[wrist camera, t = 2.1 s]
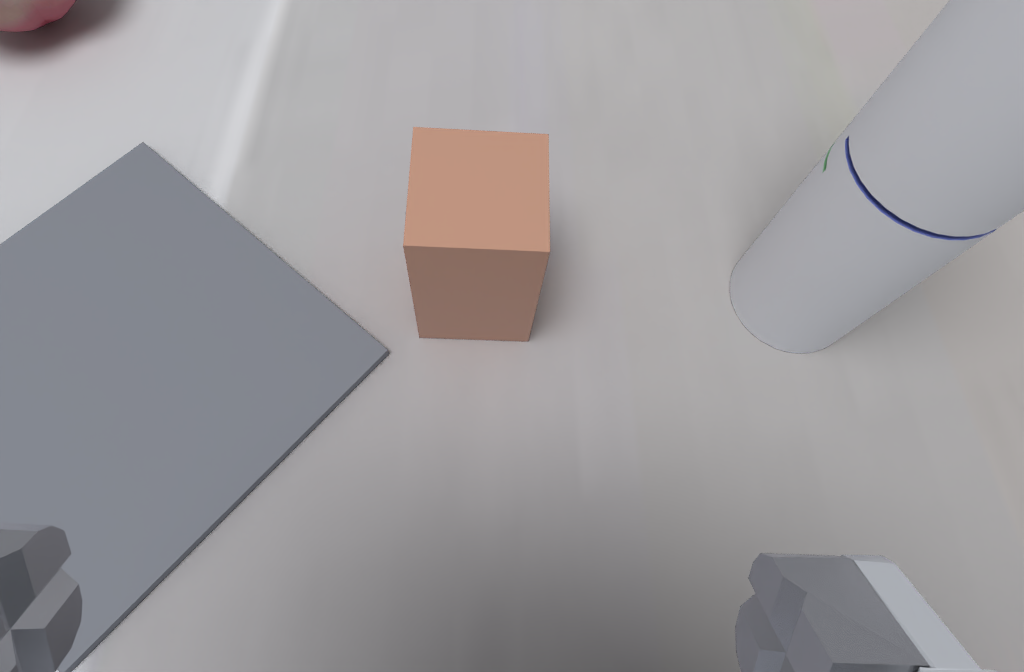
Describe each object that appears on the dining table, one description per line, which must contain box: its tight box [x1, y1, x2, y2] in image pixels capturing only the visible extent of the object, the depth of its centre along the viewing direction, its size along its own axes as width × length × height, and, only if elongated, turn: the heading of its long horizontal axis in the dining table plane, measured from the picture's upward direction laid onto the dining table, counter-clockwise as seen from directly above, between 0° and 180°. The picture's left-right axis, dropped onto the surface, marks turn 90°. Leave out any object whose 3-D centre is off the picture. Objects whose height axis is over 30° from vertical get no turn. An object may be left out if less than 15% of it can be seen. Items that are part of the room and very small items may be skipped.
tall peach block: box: [403, 127, 550, 341], centre depth 32 cm, size 6×6×10 cm
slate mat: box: [0, 142, 389, 672], centre depth 33 cm, size 20×20×1 cm
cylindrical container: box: [730, 0, 1024, 353], centre depth 26 cm, size 7×7×25 cm
